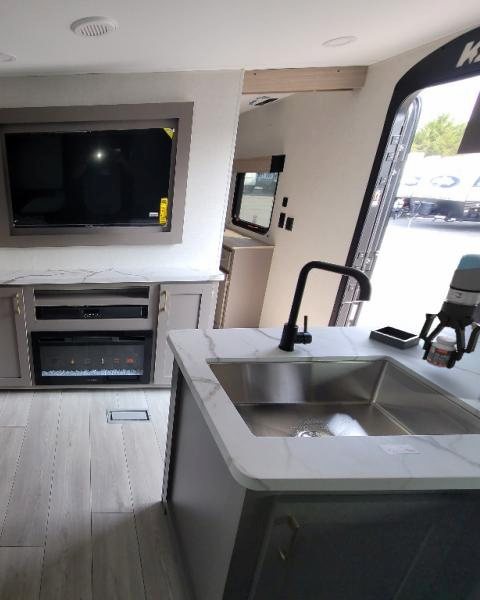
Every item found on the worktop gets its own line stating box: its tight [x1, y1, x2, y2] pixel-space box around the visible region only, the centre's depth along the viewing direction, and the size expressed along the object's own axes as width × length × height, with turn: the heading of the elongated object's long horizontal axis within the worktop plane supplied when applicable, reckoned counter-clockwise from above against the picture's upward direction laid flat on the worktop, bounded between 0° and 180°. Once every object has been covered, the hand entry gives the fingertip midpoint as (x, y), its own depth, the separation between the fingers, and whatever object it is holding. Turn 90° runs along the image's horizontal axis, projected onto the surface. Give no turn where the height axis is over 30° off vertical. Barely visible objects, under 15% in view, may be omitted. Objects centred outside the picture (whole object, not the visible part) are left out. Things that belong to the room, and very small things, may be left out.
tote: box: [368, 324, 421, 351], centre depth 134 cm, size 11×11×4 cm
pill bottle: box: [425, 335, 457, 369], centre depth 113 cm, size 6×6×10 cm
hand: (437, 363), depth 114 cm, fingers closed on pill bottle, 6 cm apart
